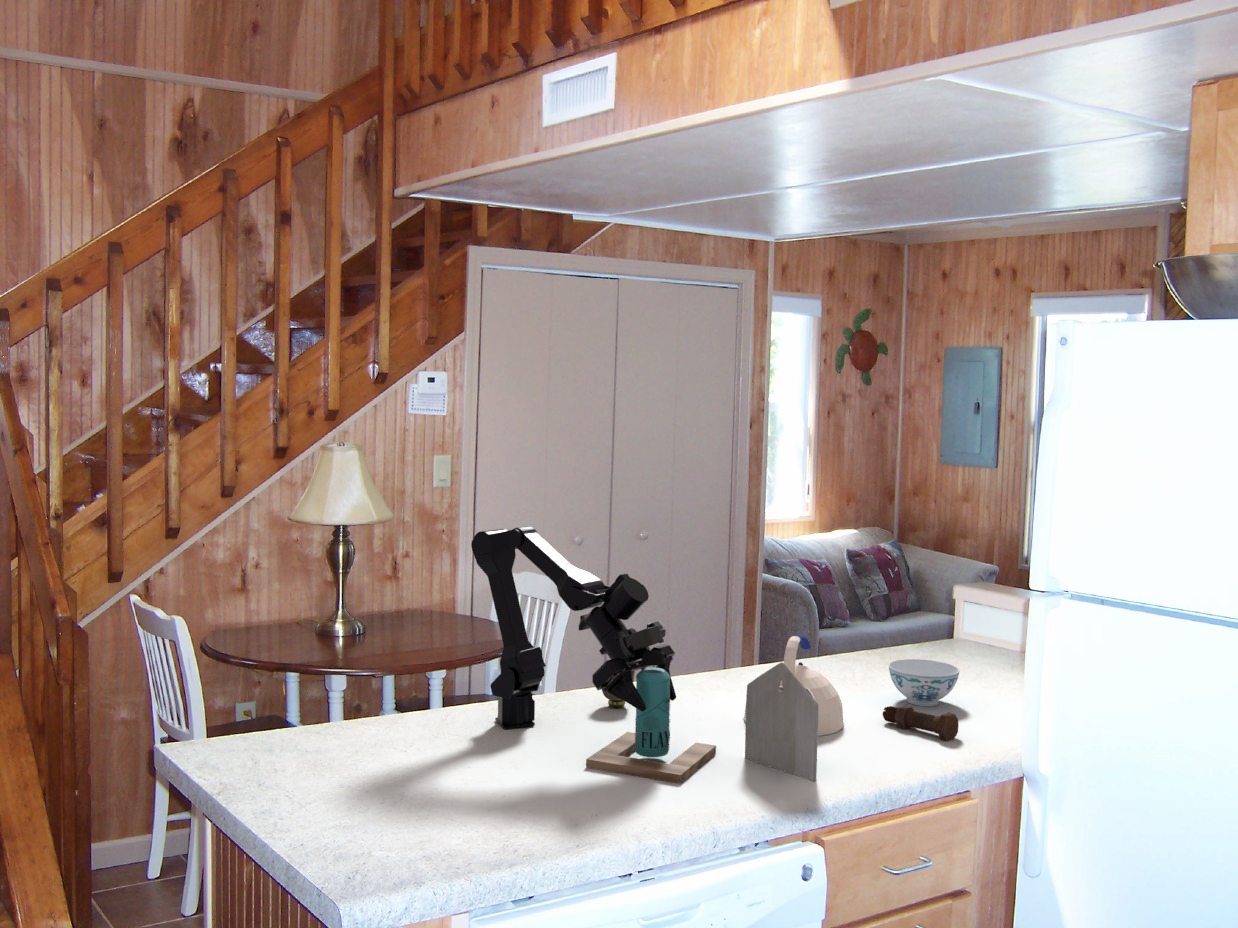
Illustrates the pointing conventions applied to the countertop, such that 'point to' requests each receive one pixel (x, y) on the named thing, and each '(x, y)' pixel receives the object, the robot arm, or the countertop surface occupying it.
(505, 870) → the countertop surface
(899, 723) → the bolt
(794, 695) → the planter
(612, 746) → the notched board
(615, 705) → the cup
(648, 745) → the beverage bottle
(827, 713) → the kettle
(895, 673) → the chinaware
